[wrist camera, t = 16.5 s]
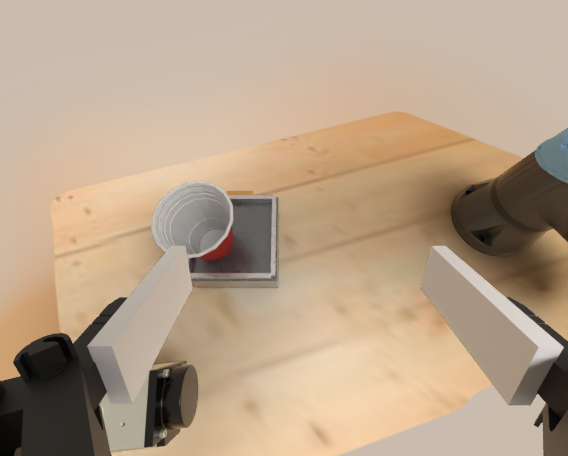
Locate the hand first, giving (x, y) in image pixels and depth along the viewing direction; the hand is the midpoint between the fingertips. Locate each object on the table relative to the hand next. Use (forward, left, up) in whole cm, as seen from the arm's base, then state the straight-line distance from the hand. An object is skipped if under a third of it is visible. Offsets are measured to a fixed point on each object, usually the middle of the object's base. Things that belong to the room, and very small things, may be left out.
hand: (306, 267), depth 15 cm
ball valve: (+22, +12, -36) cm, 44 cm away
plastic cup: (+13, -10, -29) cm, 33 cm away
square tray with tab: (+10, -13, -36) cm, 39 cm away
